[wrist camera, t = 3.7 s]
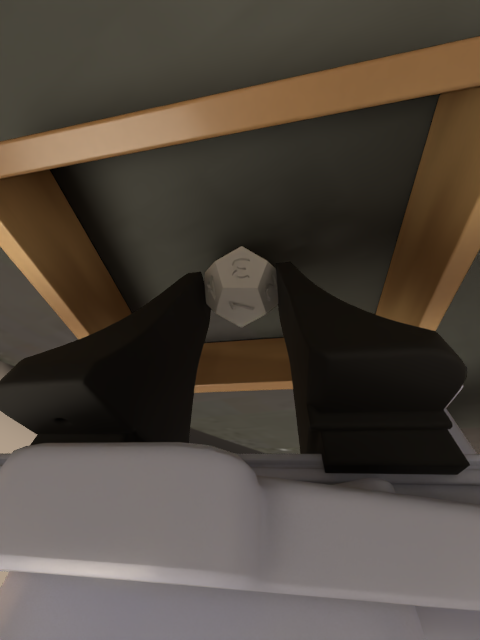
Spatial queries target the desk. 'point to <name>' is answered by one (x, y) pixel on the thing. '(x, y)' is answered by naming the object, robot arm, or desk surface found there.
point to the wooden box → (244, 115)
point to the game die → (241, 287)
